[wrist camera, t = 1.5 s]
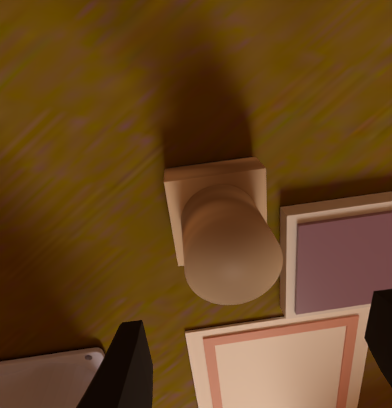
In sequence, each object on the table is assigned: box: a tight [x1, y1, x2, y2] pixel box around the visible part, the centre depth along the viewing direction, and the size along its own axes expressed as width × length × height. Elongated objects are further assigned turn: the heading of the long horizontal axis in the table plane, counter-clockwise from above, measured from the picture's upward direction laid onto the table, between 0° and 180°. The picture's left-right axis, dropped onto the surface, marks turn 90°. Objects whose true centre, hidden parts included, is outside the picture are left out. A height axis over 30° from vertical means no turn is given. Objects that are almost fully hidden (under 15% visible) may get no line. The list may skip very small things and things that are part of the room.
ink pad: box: [280, 191, 392, 319], centre depth 20 cm, size 8×8×2 cm
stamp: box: [164, 156, 283, 305], centre depth 15 cm, size 5×5×6 cm
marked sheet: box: [185, 307, 370, 408], centre depth 26 cm, size 14×15×1 cm
